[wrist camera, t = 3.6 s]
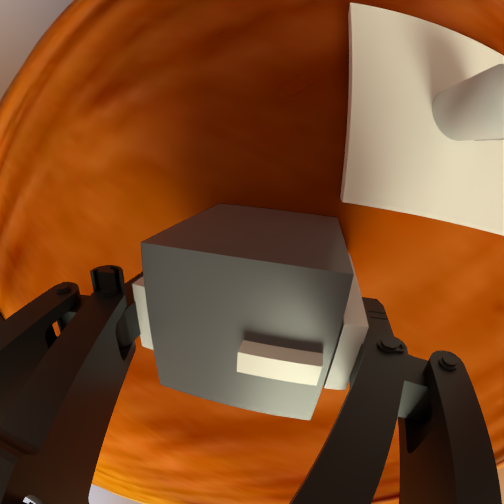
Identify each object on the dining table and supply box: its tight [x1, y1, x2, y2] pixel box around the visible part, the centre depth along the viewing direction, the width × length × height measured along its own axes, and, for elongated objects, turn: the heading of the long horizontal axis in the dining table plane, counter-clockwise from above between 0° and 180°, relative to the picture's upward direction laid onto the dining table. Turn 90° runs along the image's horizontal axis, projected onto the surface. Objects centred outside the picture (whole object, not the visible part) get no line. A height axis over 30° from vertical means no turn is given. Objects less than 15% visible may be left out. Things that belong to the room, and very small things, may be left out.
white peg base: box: [340, 3, 504, 236], centre depth 7 cm, size 10×10×6 cm
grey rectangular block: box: [141, 204, 354, 420], centre depth 11 cm, size 6×6×8 cm
